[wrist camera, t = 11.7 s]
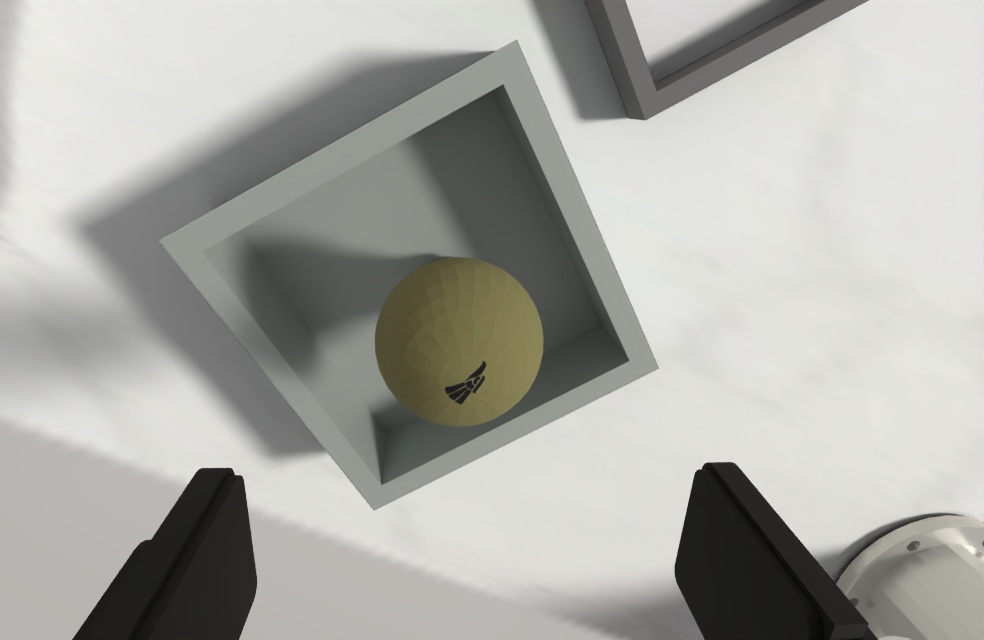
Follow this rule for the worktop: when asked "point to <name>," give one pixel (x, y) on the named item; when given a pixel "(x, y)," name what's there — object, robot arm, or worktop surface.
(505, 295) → the light bulb
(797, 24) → the bulb holder
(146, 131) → the worktop surface
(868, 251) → the worktop surface
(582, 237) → the bin
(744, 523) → the robot arm
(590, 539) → the worktop surface
